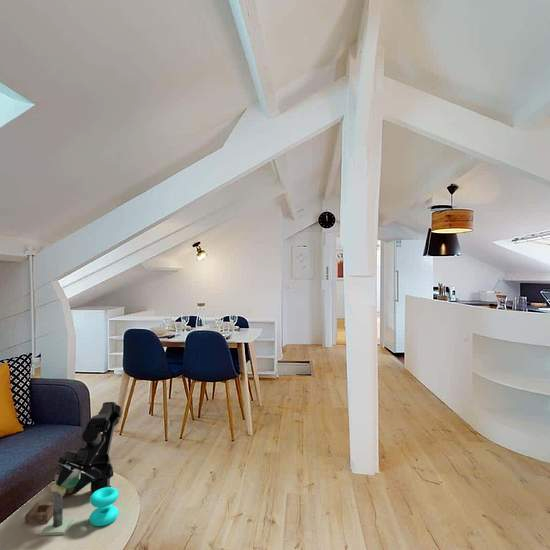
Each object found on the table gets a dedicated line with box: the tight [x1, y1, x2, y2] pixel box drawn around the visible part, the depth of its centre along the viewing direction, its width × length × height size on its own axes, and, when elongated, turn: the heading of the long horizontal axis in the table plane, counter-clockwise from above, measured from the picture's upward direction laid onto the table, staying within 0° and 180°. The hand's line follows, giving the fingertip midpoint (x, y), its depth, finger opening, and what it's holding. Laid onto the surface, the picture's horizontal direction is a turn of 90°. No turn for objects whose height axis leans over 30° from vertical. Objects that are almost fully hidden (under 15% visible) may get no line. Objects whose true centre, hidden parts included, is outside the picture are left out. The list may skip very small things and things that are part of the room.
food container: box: [54, 468, 82, 499], centre depth 162 cm, size 12×6×10 cm, turn 168°
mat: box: [39, 517, 75, 537], centre depth 140 cm, size 8×8×1 cm
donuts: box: [89, 486, 120, 527], centre depth 145 cm, size 10×10×10 cm
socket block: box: [24, 501, 53, 525], centre depth 146 cm, size 8×8×3 cm
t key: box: [50, 483, 66, 527], centre depth 140 cm, size 6×3×14 cm, turn 63°
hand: (64, 491), depth 142 cm, fingers open, 9 cm apart
